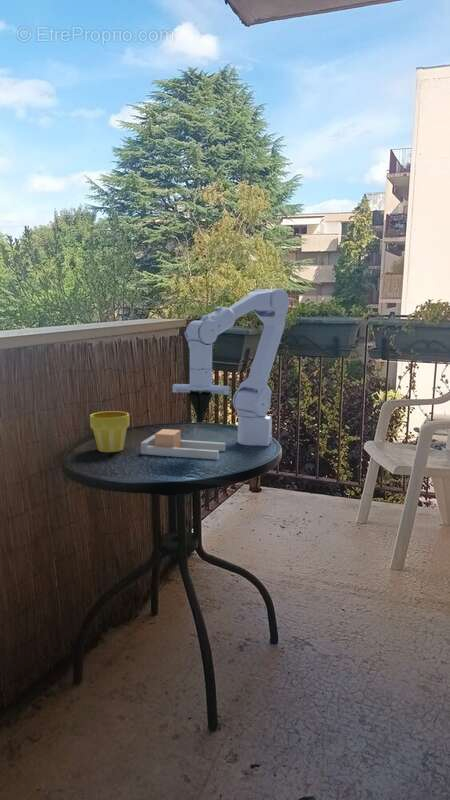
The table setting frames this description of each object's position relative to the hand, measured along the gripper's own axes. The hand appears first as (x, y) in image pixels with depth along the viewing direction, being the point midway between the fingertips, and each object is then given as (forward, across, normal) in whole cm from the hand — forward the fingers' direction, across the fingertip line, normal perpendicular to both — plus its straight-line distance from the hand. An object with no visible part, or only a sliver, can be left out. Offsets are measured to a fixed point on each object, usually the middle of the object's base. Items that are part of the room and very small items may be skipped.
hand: (200, 421), depth 137 cm
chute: (+9, -4, -1) cm, 10 cm away
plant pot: (+10, -25, 0) cm, 27 cm away
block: (+8, -9, -1) cm, 12 cm away
